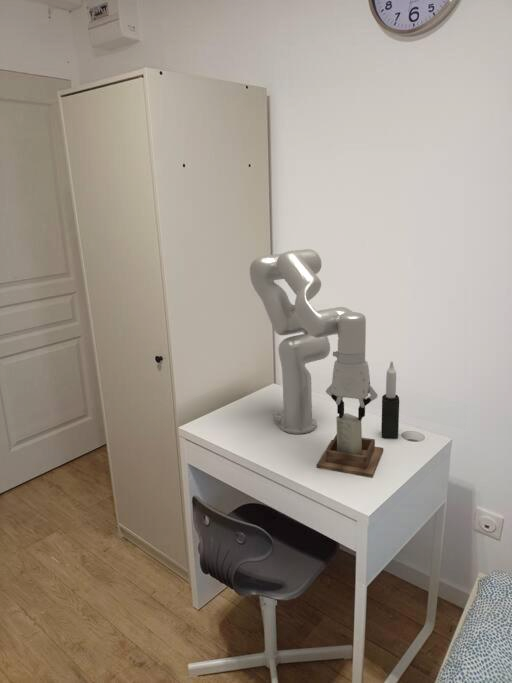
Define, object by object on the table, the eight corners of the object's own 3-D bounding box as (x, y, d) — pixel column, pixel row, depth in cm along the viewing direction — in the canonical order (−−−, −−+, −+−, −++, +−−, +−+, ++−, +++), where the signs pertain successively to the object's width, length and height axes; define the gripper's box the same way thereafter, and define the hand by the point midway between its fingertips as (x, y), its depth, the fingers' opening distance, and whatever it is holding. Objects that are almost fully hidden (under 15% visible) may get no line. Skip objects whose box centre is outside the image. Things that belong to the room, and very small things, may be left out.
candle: (398, 439, 158) (400, 364, 151) (381, 438, 159) (383, 363, 152) (397, 432, 163) (399, 358, 156) (381, 431, 164) (382, 358, 157)
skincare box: (362, 457, 146) (362, 418, 143) (351, 462, 144) (352, 423, 140) (346, 449, 151) (346, 412, 148) (335, 454, 149) (335, 416, 145)
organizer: (316, 467, 144) (316, 453, 143) (331, 442, 158) (331, 429, 157) (372, 477, 137) (372, 462, 136) (383, 450, 151) (383, 437, 150)
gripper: (317, 358, 139) (318, 418, 144) (379, 363, 132) (378, 426, 137) (325, 350, 146) (326, 408, 151) (385, 355, 139) (383, 416, 144)
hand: (351, 416), depth 144 cm, fingers open, 4 cm apart
